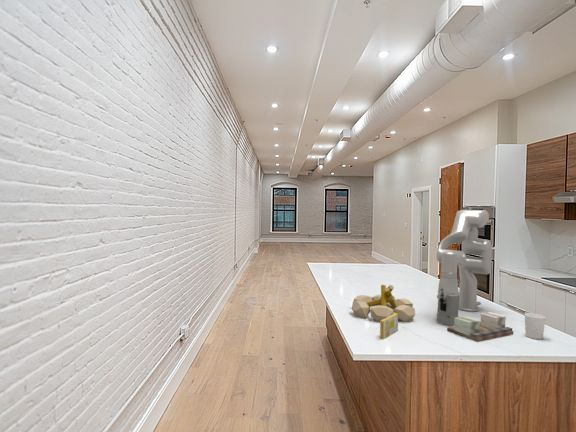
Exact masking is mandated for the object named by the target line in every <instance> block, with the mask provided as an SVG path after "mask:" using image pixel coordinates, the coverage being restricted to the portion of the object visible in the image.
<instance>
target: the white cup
mask: <svg viewBox="0 0 576 432" xmlns="http://www.w3.org/2000/svg"><path fill="white" fill-rule="evenodd" d="M545 324H546V316H544V315H542V314H537V313H528V312H527V313H524V330H525V331H524V332H525V336H526V337H527V338H530V339H535V340H543V339H544V332H545Z"/></svg>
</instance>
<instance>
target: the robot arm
mask: <svg viewBox="0 0 576 432" xmlns="http://www.w3.org/2000/svg"><path fill="white" fill-rule="evenodd" d="M489 220H490V215H489V212H488V211H487V210H485V209H460V210H458V211H456V213H455V218H454V221H453V225H452V228H451V232H450V233H449V234H448V235H447V236H444V238H443V239H442V240H441V241H440V242H439V245H438V248H437V251H436V260H437V261H438V262H439V263H440V264H441V268H440V270H441V271H440V272H441V274H440V276H441V277H440V278H439V282H438V288H437V289H438V290H437V294H436V298H437V299H438V300H439V302H440V310H442V311H446V298H448V295H453V294H457V295H460V299H459V310H461V311H463V310H464V312H472V313H473V312H479V311H480V308H479V307H478V306H480V305H482V302H481V301H477V300H478V299H477V298H478V297H477V296H478V279H477V278H476V276H475V274H478V275H489V274H490V273H491V271H492V260H493V259H492V258H493V257H492V256H493V254H492V253H493V246H492V243H491V241H490V240H488V239H483V238H482V239H481V238H480V239H479V238H478V237H479V229H478V228H483V227H485V226H486V225H487V224H488V223H489ZM459 243H461V250H455V249H447V248H448V247H450V246H452V245H454V244H459ZM467 255H471V256H467ZM472 255H475V256H472ZM476 256H481V257H476ZM458 271H459V281H458ZM443 296H444V297H443ZM443 298H444V300H443ZM438 300H437V301H438Z"/></svg>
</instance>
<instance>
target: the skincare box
mask: <svg viewBox="0 0 576 432" xmlns="http://www.w3.org/2000/svg"><path fill="white" fill-rule="evenodd" d="M443 297H444V296H443ZM459 299H460V295H457V294H453V295H448V298H446V311H442V310H440V302H439V300H437V312H436V313H437V314H436V322H437V323H440V324H442V325H445V326H448V327H454V318H456V317H459V310H460V309H459ZM443 300H444V298H443Z"/></svg>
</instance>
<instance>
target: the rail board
mask: <svg viewBox="0 0 576 432" xmlns="http://www.w3.org/2000/svg"><path fill="white" fill-rule="evenodd" d="M506 320H507V319H506V315H502V314H499V313H495V312H491V311H489V312H483V313H480V320H478V319H475V318H472V317H469V316H465V315H463V316H458V317H456V318H454V325H453V326H448V327H447V328H446V331H447V332H449V333H453V334H454V335H458V336H460V337H463V338H466V339H468V340H470V341H473V342H475V343H476V342H477V343H478V342H484V341H489V340H493V339H497V338H498V339H499V338H503V337H507V336H512V335H514V331H513V328H512V327H509V326H506Z"/></svg>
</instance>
